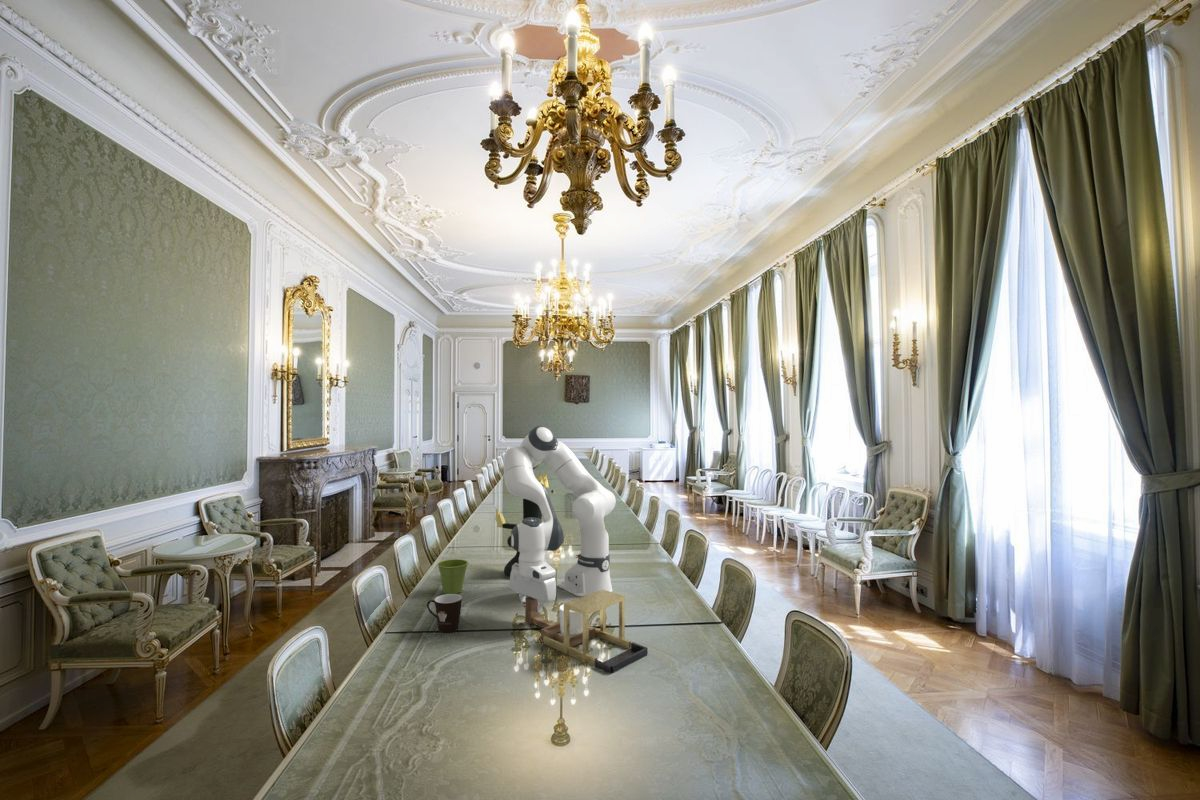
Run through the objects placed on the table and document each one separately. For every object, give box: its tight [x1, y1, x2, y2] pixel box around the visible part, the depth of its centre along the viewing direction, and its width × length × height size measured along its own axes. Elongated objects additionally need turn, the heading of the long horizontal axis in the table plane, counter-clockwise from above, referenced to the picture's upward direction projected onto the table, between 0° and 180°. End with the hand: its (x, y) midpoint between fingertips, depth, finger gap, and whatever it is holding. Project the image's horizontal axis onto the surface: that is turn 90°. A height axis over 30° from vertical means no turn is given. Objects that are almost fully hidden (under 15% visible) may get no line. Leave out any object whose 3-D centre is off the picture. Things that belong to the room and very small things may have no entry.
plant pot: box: [436, 558, 469, 594], centre depth 217 cm, size 12×12×11 cm
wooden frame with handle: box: [524, 596, 596, 648], centre depth 179 cm, size 25×12×8 cm, turn 47°
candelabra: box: [495, 471, 549, 578], centre depth 239 cm, size 19×22×45 cm
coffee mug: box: [426, 593, 463, 634], centre depth 182 cm, size 12×9×10 cm
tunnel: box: [542, 590, 648, 674], centre depth 167 cm, size 28×17×15 cm, turn 47°
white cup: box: [558, 603, 583, 638], centre depth 174 cm, size 8×8×10 cm
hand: (531, 609), depth 186 cm, fingers open, 6 cm apart
